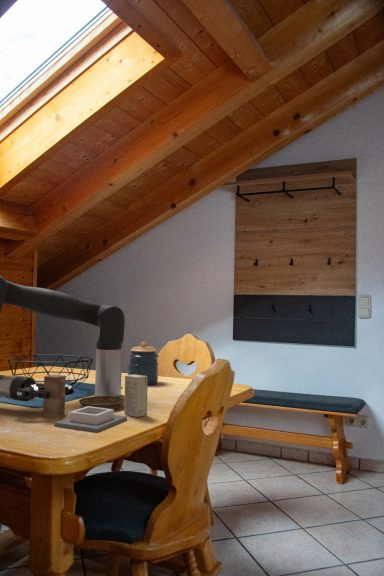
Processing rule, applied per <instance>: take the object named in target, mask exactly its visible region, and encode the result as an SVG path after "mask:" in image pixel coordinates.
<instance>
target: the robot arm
mask: <svg viewBox="0 0 384 576" xmlns="http://www.w3.org/2000/svg"><path fill="white" fill-rule="evenodd" d="M3 304H4V305H10V306H16V307H19V308H22V309H25V310H27V311H30V312H33V313H37V314H40V315H43V316H46V317H50V318H56V319H61V320H68V321H78V322H83V323H87V324H89V325H92V326H94V327H98V328H99V337H98V340H97V341H96V348H95V350H96V353H95V376H94V377H95V378H94V379H95V381H94V382H95V384H94V397H96V396H111V397H120V396H121V394H122V372H123V371H122V346H123V342H124V339H125V321H126V320H125V314H124V311H123V310H122V309H121V308H120V307H119V306H116V305H113V304H112V305H110V304H98V303H92V302H88V301H85V300H82V299H79V298H78V297H75V296H73V295H70V294H67V293H64V292H61V291H58V290H57V291H56V290H53V289H49V288H43V287H36V286H35V287H34V286H25V285H21V284H18V283H14V282H12V281H9V280H6V279H5V278H4V277H3V276H1V275H0V313H2V312H1V311H2V308H3V306H4V305H3ZM69 390H70V389H69V387H68V386H65V395H68V394H69V392H70V391H69ZM0 398H3V399H7V400H12V401H19V402H29V401H32V400H34V399H36V400H38V399H43V400H44V399H50V398H51V392H50V391H44V383H42V382H36V381H35V379H34V378H33V377H31V376H23V375H6V374H0Z"/></svg>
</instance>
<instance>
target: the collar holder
mask: <svg viewBox="0 0 384 576" xmlns="http://www.w3.org/2000/svg"><path fill="white" fill-rule="evenodd" d="M114 413H115V409H106V408H98V407H91V406H87V407H82V408H78V409H75V410H72V411H70V412H69V417H67V418H66V417H65V418H64V419H60V420H58V421H54V424H53V425H54V427H57V428H58V427H59V428H65V429H71V430H77V431H79V430H80V431H85V432H91V433H92V432H93V433H99V432H101V430H102V431H104V430H106V429H108V428H111V427H113V426H117V425H118V424H121V423H124V422H126V421H128V416H127V415H126V416H125V415H119V414H117V415H116V414H114Z"/></svg>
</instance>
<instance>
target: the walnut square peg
mask: <svg viewBox="0 0 384 576" xmlns="http://www.w3.org/2000/svg"><path fill="white" fill-rule="evenodd" d="M43 379H44V380H43V384H44V391H50V392H51V398H50V399H43V403H42V404H43V405H42V417H46V418H53V419H56V418H57V419H58V418H60V417H63V416H65V413H66V411H65V410H66V409H65V408H66V394H65V387H66V383H67V382H66V381H67V380H66V379H67V376H66V375H64V374H63V375H62V374H61V375H60V374H49V375H45V376H43Z"/></svg>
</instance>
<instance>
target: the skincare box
mask: <svg viewBox="0 0 384 576" xmlns="http://www.w3.org/2000/svg"><path fill="white" fill-rule="evenodd" d="M124 415H126V416H131V417H135V418H140V417H145V416H148V385H147V376H142V375H135V374H134V375H128V374H127V375H124Z"/></svg>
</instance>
